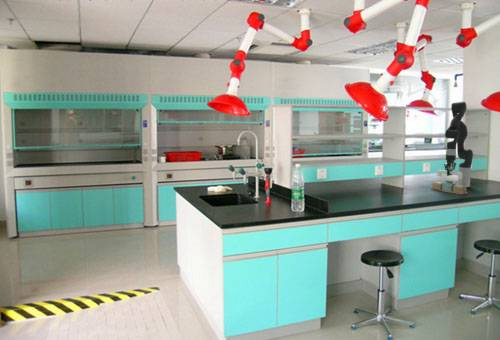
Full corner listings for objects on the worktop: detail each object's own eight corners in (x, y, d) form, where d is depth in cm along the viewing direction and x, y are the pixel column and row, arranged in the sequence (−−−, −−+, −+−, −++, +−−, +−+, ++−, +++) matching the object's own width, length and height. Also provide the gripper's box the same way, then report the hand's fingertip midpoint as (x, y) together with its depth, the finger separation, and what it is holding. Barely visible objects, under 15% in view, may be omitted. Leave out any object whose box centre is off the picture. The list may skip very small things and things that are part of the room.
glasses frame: (439, 175, 358) (439, 169, 357) (462, 178, 341) (462, 172, 341) (437, 175, 356) (437, 170, 356) (460, 179, 340) (460, 172, 339)
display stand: (436, 188, 364) (437, 178, 362) (467, 193, 341) (468, 182, 340) (430, 189, 359) (431, 178, 358) (461, 194, 337) (462, 183, 336)
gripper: (451, 153, 353) (450, 174, 355) (441, 154, 346) (440, 175, 348) (460, 154, 347) (458, 175, 349) (450, 155, 339) (448, 176, 342)
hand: (449, 175), depth 349 cm, fingers closed on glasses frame, 3 cm apart
